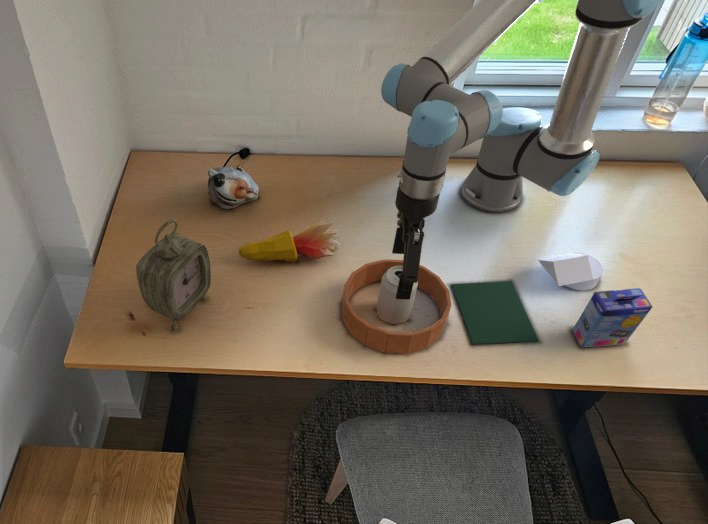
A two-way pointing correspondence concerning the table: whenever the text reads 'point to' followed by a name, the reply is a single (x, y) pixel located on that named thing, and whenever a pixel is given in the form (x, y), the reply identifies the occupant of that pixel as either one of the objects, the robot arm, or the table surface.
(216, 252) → the table surface
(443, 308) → the brown wooden ring
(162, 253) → the tabletop clock
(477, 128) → the robot arm
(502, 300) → the felt mat
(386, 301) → the can
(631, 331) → the ink cartridge box
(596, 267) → the wedge on round base
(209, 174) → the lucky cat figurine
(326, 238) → the torch
